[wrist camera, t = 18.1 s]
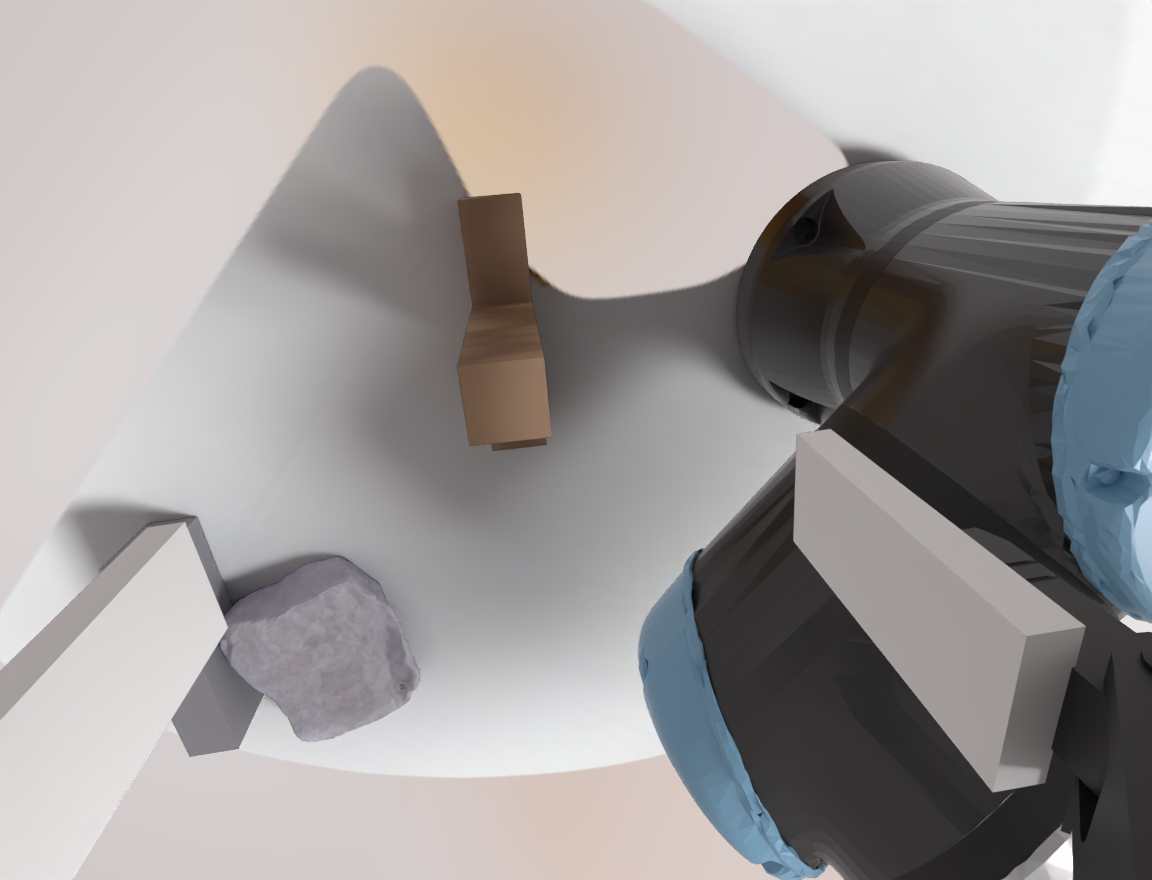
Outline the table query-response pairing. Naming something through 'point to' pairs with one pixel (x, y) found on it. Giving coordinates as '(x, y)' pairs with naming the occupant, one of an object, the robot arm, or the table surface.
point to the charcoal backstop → (211, 676)
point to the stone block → (322, 649)
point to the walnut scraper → (501, 330)
